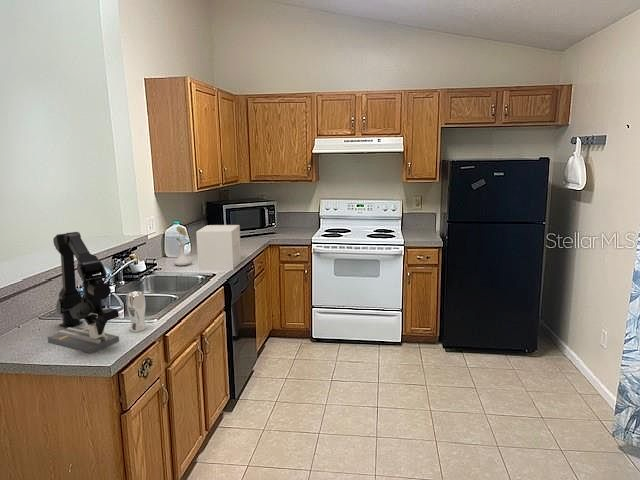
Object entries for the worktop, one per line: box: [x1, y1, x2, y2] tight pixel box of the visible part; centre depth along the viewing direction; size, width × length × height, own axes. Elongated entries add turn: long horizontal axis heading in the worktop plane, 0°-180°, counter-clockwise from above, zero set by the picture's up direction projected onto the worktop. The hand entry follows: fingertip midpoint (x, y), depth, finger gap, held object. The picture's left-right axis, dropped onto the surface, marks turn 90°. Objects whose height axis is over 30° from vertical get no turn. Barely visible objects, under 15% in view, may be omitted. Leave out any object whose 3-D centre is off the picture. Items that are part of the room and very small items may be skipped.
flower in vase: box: [173, 225, 193, 266], centre depth 292 cm, size 13×11×25 cm
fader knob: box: [87, 322, 106, 339], centre depth 169 cm, size 3×4×6 cm
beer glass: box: [126, 291, 147, 333], centre depth 184 cm, size 7×7×15 cm
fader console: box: [47, 326, 120, 354], centre depth 173 cm, size 24×12×3 cm, turn 64°
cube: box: [195, 224, 242, 271], centre depth 289 cm, size 25×21×24 cm
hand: (97, 333), depth 169 cm, fingers closed on fader knob, 3 cm apart
